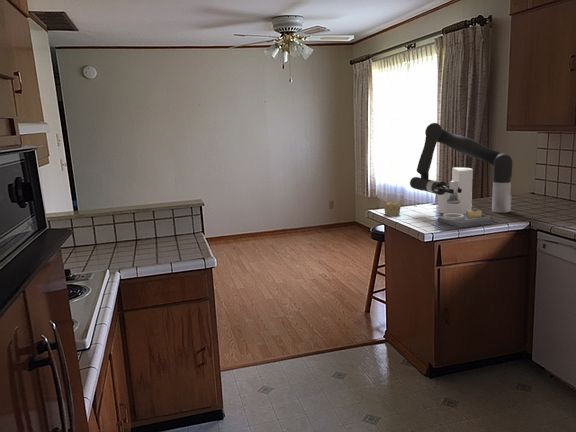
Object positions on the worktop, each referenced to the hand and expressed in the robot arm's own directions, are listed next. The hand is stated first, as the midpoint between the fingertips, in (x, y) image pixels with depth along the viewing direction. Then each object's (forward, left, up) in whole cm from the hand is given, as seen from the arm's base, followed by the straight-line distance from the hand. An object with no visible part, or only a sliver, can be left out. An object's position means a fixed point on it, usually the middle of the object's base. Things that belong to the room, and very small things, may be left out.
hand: (457, 191), depth 247 cm
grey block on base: (0, -3, -6) cm, 7 cm away
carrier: (-5, +1, -17) cm, 17 cm away
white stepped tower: (-19, -24, -17) cm, 35 cm away
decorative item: (+16, -36, -17) cm, 43 cm away
